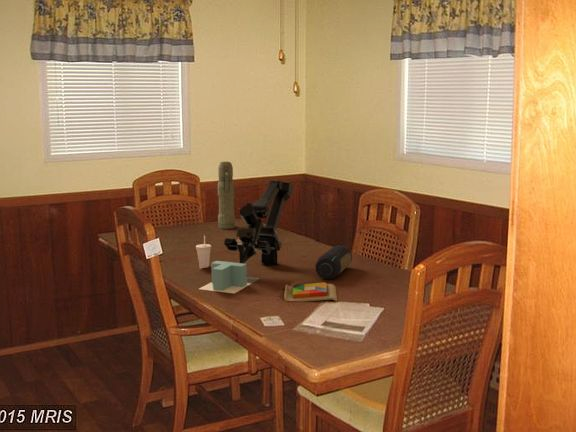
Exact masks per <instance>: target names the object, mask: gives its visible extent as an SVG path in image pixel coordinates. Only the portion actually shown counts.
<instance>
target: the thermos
mask: <svg viewBox="0 0 576 432" xmlns="http://www.w3.org/2000/svg"><path fill="white" fill-rule="evenodd" d="M233 170H234V168H233V164H232V162H230V161H220V162H219V165H218V169H217V172H218V173H217V174H218V181H217V197H218V215H217V222H218V229H219V228H220V230H233V229H235V228H236V226H235V225H236V215H235V204H234V203H235V201H234V197H235V183H234V179H233V178H234V177H233V176H234V171H233Z"/></svg>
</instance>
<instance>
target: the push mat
mask: <svg viewBox="0 0 576 432" xmlns="http://www.w3.org/2000/svg"><path fill="white" fill-rule="evenodd" d="M260 279H261V278H260V277H252V276H247V285H245V286H243V287H237V286H230V287H229V288H227V289H225V290H223V291H221V290H213V284H212V281H211V282H209V283H207V284H205V285H204V286H201V287H200V288H198V290H202V291H211V292H220V293H229V294H236V293H238V292H240V291H241V290H243V289H245V288H246V287H248V286H250V285H252V284H254V283H255V282H257V281H259V280H260Z"/></svg>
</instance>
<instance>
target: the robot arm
mask: <svg viewBox="0 0 576 432" xmlns="http://www.w3.org/2000/svg"><path fill="white" fill-rule="evenodd" d="M294 187H295V186H294V185H293V184H292V182H291V181H283V180H278V179H277V180H276V179H271V180H269V181H268V185H267V187H266V188H265V190H264V192H263V194H262V195H261V197H260V198H259V199H257V200H255V201H254V202H253V203H252V202H250V203H249V202H247V203H246V205H244V206H242V207H241V208H240V209H239V215H240V216H241V218H242V220H243V221H244V223H245V224H246V228H242V227H240V228H239V227H238V228H237V230H236V235H235V236H236V237H237V238H238V239H239V240H241V241H238V242H236V240H237V239H236V238H234V237H233V238H232V237H226V238H224V240H223V245H224V246H225V248H226V249H227V250H228V251H232V252H236V251H238V253H239V256H238V257H239V263H243V264H246V262H247V261H248V260H249V259H250V258H251V257H254V256H255V255H257V250H260V253H259V254H260V255H259V257H260V259H259V262H260V263H261V265H263V266H274V265H275V266H276V265H279V262H278V251H280V250H281V248H282V244H281V241H280V239H279V240H278V238H279V234H278V231H277V229H278V226H279V223H280V219H281V215H282V213H283V209H284V206H285V203H286V202H287V201H288V200H289V199H291V196H292V193H293V192H294V190H295V189H294ZM262 219H267V221H266V222H265V223H266V224H265V226H264V221H263V220H262ZM256 241H257V244H256Z"/></svg>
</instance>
